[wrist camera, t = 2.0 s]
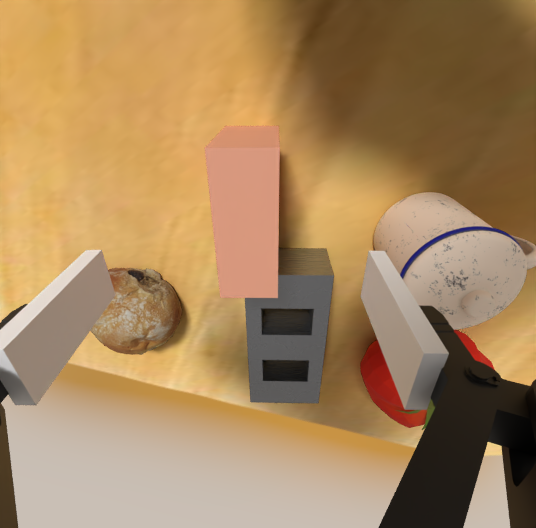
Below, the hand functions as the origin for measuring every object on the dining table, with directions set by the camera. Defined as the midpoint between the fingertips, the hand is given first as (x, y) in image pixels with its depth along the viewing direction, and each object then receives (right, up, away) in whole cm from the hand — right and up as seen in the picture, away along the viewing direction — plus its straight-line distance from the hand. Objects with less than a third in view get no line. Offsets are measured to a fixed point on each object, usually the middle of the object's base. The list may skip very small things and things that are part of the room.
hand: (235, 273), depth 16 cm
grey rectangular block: (+4, -6, +21) cm, 22 cm away
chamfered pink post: (+1, +8, +13) cm, 15 cm away
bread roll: (-13, -4, +21) cm, 25 cm away
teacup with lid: (+18, +4, +15) cm, 24 cm away
